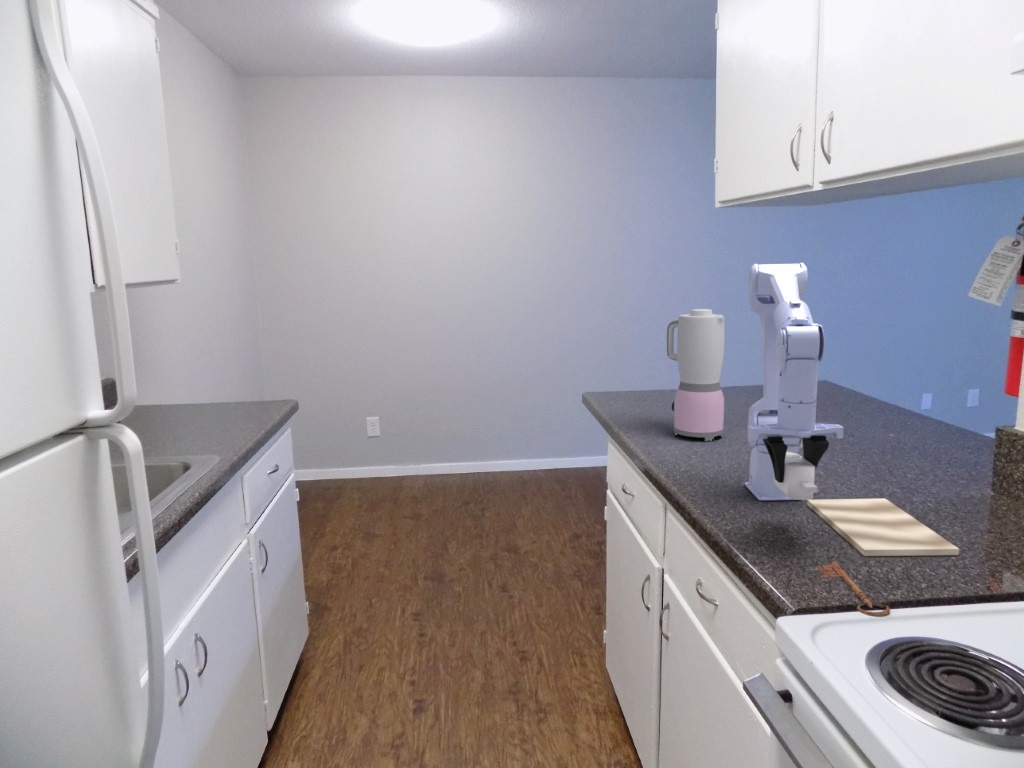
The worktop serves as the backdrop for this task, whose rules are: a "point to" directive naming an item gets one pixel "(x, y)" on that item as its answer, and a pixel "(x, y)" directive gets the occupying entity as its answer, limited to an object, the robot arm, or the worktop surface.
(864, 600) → the key
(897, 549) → the pad
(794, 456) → the plug
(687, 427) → the blender
